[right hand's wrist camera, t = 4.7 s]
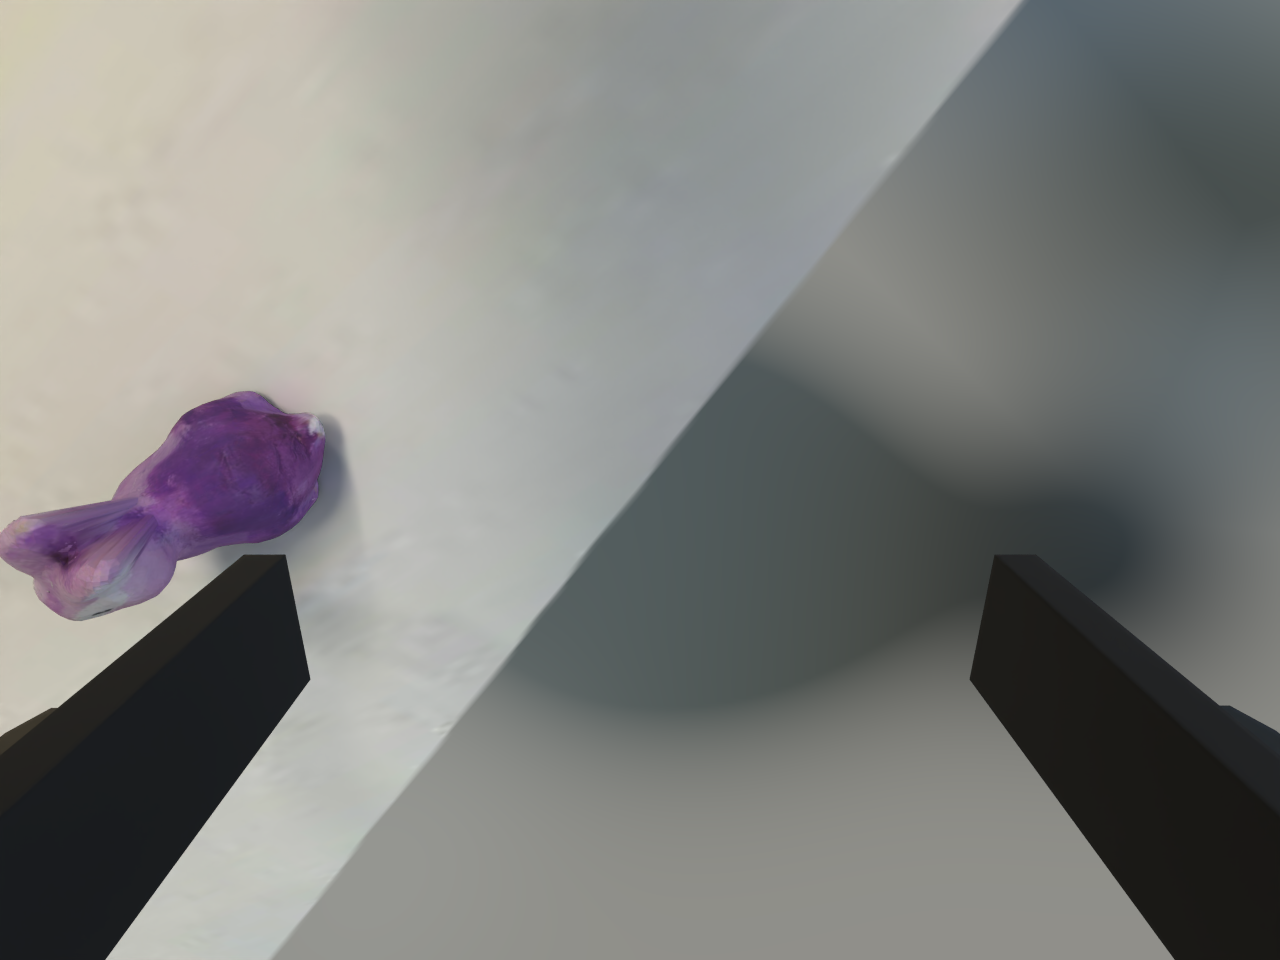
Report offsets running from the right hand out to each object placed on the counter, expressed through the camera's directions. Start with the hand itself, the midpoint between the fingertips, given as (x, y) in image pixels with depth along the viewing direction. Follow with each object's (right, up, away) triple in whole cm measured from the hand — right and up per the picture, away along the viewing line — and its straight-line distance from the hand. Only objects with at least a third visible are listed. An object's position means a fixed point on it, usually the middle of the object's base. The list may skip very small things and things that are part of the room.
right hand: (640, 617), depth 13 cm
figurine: (-23, +3, +29) cm, 37 cm away
